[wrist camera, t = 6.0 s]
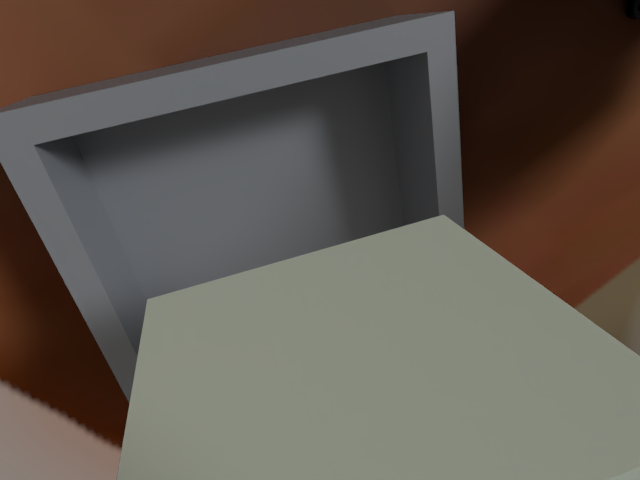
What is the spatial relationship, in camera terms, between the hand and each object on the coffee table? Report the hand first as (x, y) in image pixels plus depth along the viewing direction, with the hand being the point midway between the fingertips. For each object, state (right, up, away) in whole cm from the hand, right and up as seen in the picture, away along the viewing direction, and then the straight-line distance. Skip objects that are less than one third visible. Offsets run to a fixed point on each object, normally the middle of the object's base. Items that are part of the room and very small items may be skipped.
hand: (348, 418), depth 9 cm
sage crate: (0, +1, +1) cm, 2 cm away
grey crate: (-3, +5, +11) cm, 12 cm away
